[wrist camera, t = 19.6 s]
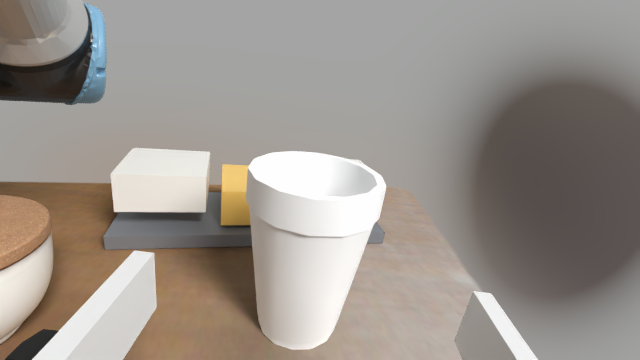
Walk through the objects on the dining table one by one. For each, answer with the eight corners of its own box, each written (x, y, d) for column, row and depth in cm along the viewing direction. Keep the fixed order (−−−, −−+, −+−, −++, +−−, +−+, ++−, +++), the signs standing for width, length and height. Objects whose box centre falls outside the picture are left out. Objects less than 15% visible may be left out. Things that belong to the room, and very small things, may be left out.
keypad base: (104, 249, 32) (103, 236, 32) (133, 201, 42) (132, 190, 41) (382, 243, 41) (384, 232, 40) (352, 203, 50) (353, 195, 50)
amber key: (220, 225, 36) (221, 191, 34) (221, 193, 43) (222, 164, 42) (297, 224, 38) (301, 193, 37) (285, 194, 46) (288, 167, 44)
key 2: (114, 211, 32) (110, 173, 31) (135, 179, 40) (133, 147, 38) (205, 212, 35) (206, 177, 33) (209, 181, 42) (210, 151, 41)
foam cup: (235, 373, 22) (247, 196, 17) (239, 282, 30) (248, 147, 26) (368, 363, 24) (409, 203, 20) (338, 281, 33) (362, 156, 28)
